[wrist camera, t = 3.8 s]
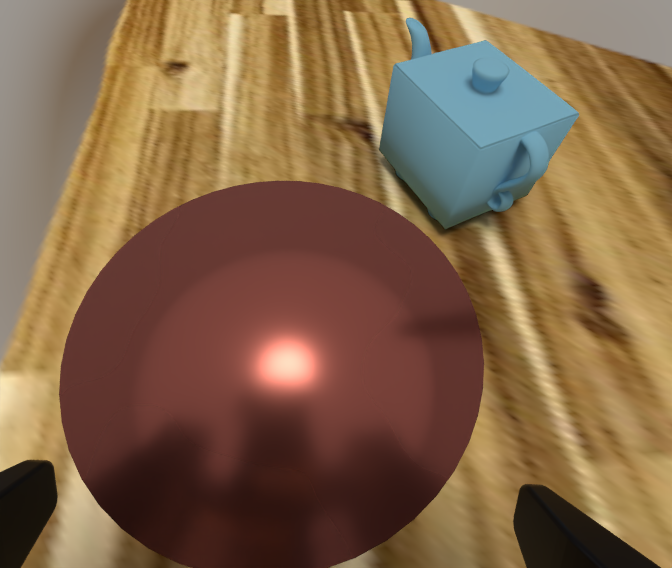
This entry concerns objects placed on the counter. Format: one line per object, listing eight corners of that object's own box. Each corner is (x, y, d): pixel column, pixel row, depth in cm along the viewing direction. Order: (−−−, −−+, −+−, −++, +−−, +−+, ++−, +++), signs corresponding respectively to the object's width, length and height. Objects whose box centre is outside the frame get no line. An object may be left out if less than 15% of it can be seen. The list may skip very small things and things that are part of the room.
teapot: (352, 130, 27) (364, 9, 21) (424, 108, 29) (455, -10, 23) (456, 259, 22) (514, 149, 16) (537, 223, 24) (620, 111, 17)
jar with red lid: (365, 545, 15) (552, 621, 3) (231, 539, 15) (-71, 596, 3) (365, 409, 17) (469, 182, 6) (251, 403, 17) (127, 159, 6)
